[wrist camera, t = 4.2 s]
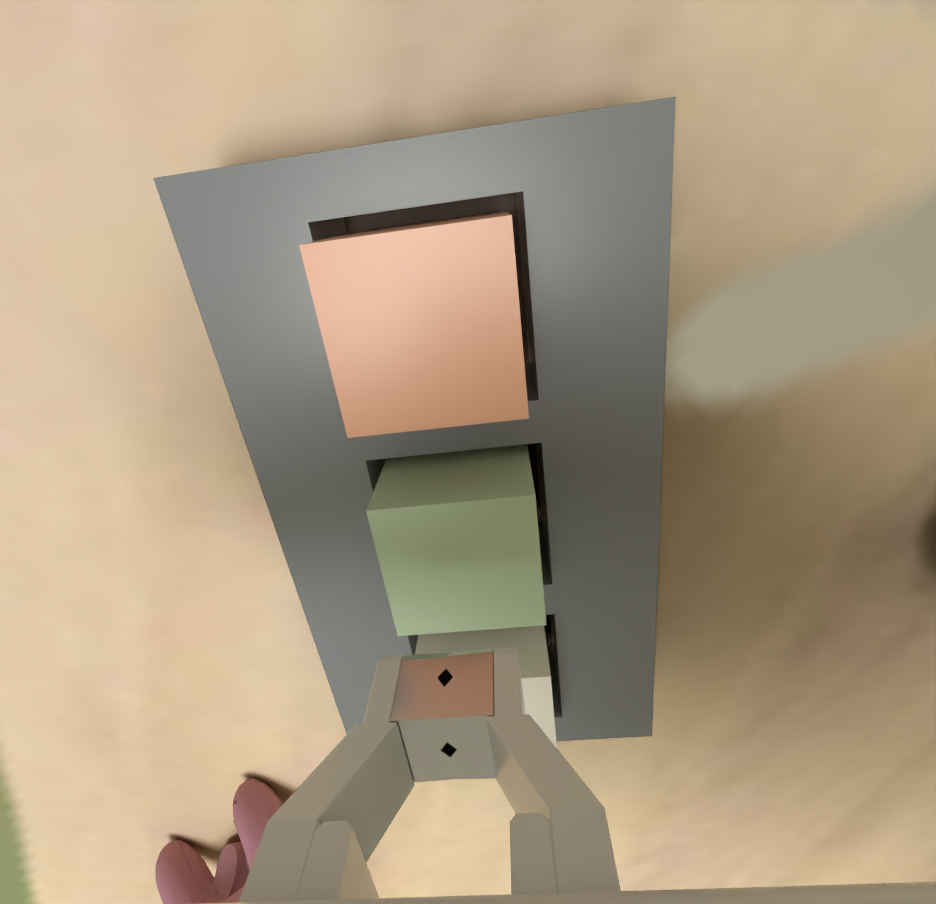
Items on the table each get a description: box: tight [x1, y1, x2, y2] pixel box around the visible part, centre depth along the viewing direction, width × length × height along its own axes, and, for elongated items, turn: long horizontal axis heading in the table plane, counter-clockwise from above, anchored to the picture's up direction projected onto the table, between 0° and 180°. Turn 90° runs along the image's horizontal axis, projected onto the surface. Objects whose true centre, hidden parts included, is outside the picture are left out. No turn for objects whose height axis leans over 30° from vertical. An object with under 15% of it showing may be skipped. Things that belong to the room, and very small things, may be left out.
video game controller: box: [156, 778, 283, 904], centre depth 28 cm, size 10×5×7 cm, turn 137°
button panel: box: [154, 97, 675, 741], centre depth 18 cm, size 12×21×4 cm, turn 7°
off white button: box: [415, 626, 557, 748], centre depth 19 cm, size 4×4×4 cm
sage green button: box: [366, 444, 546, 636], centre depth 16 cm, size 4×4×4 cm
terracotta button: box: [299, 211, 529, 438], centre depth 13 cm, size 4×4×4 cm
